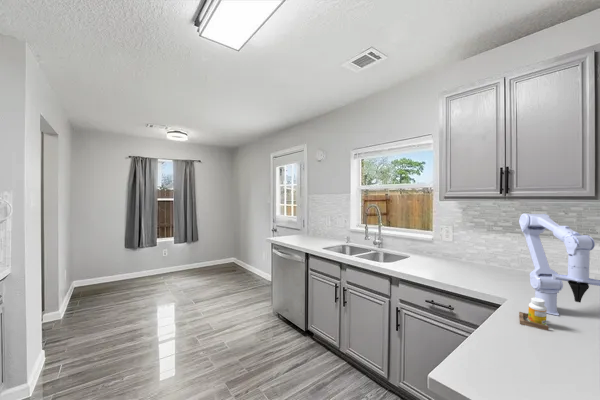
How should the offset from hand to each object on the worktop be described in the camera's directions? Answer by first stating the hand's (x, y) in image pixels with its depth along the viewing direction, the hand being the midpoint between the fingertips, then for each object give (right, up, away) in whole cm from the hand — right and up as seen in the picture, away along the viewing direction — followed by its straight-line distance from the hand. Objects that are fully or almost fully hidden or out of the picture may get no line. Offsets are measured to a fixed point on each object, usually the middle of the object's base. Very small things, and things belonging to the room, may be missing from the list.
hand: (577, 301), depth 103 cm
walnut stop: (-13, -10, +4) cm, 17 cm away
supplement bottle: (-13, -10, +4) cm, 17 cm away
